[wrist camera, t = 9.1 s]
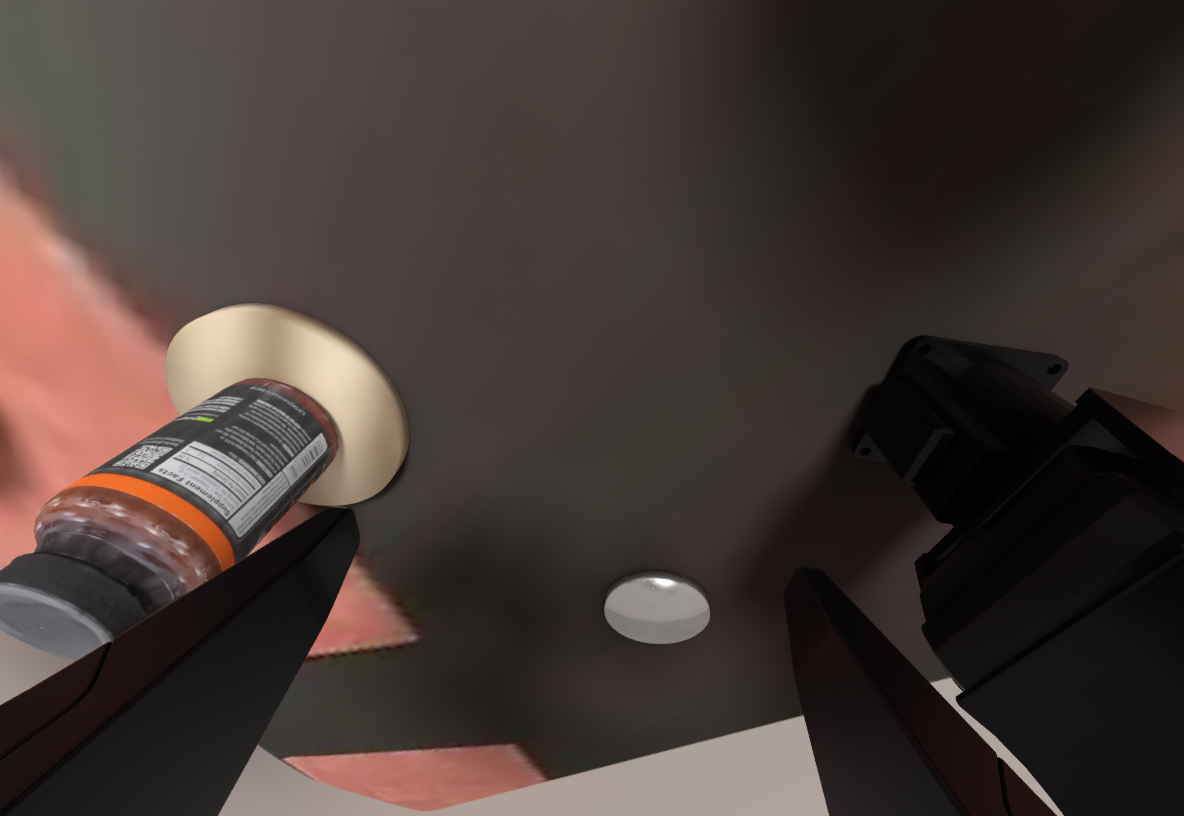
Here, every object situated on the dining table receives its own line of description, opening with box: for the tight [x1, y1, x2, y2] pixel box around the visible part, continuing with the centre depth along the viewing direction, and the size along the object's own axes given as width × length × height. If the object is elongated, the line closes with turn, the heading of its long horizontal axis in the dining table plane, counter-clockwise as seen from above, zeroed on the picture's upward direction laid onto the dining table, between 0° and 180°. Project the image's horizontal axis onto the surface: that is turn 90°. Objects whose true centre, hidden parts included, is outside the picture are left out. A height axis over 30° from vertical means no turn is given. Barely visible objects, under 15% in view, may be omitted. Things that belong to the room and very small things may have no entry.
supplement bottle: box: [0, 378, 339, 660], centre depth 19 cm, size 6×6×11 cm
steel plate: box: [604, 570, 710, 644], centre depth 30 cm, size 7×7×1 cm
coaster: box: [165, 303, 410, 506], centre depth 24 cm, size 12×12×1 cm
